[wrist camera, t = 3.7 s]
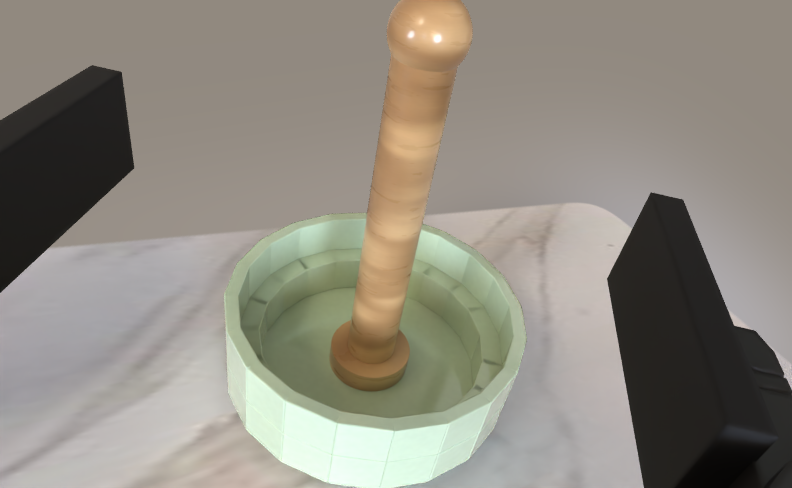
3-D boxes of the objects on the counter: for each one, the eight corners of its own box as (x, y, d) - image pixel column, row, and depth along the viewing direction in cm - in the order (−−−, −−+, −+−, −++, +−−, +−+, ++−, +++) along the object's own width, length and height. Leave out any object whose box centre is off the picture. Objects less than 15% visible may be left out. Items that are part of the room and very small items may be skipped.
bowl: (544, 372, 36) (575, 307, 33) (383, 568, 26) (403, 504, 22) (356, 248, 42) (365, 184, 39) (167, 365, 32) (157, 292, 29)
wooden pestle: (421, 361, 34) (520, 0, 22) (372, 406, 31) (453, 18, 19) (364, 320, 36) (425, -34, 24) (312, 359, 33) (351, -23, 21)
